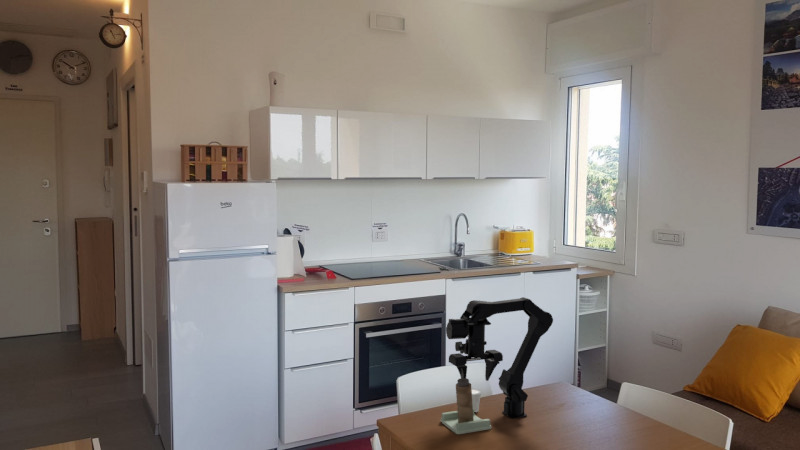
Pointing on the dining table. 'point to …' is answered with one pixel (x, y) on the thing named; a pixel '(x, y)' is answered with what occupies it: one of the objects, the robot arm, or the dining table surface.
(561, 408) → the dining table surface
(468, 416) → the pepper mill
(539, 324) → the robot arm
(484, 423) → the tray
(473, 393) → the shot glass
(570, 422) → the dining table surface
